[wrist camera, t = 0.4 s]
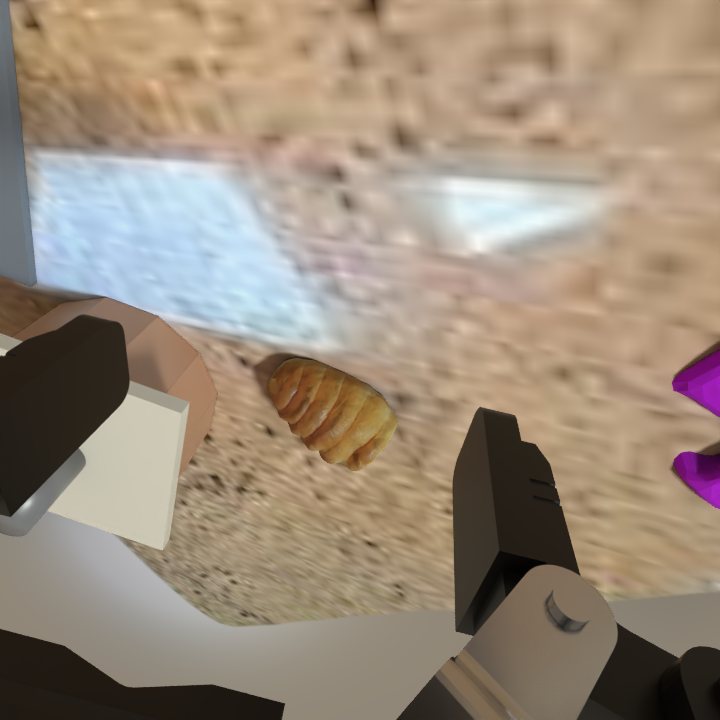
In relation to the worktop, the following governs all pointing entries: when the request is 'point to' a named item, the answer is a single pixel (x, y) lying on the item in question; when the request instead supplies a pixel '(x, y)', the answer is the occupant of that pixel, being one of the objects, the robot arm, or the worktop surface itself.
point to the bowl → (149, 359)
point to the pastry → (332, 412)
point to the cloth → (716, 393)
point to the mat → (12, 170)
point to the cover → (117, 471)
